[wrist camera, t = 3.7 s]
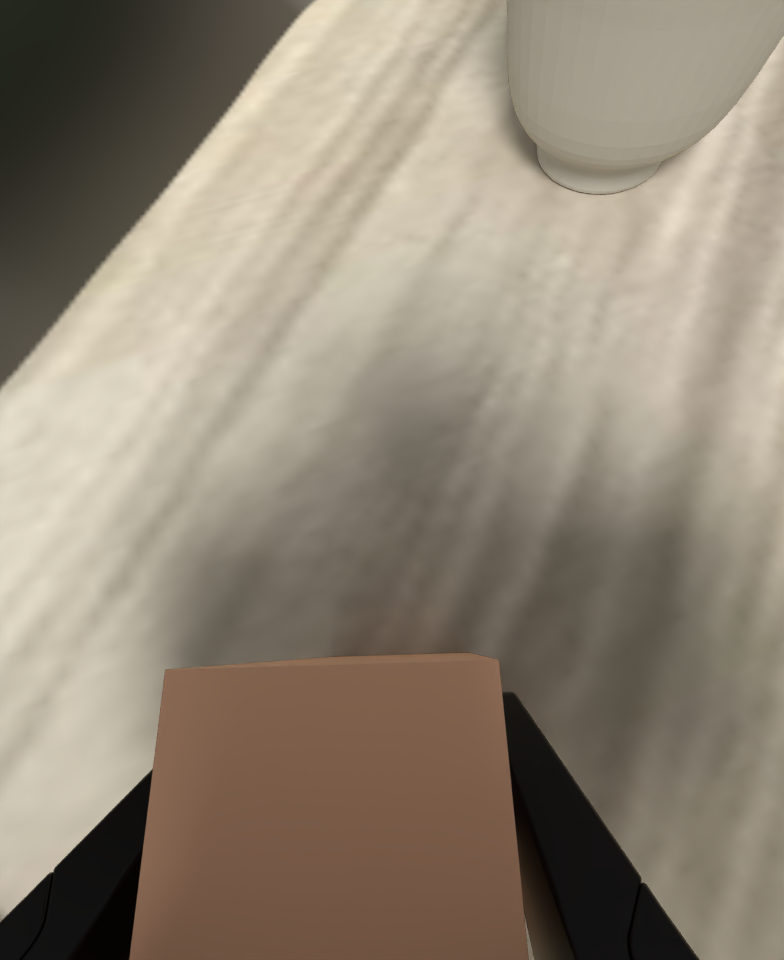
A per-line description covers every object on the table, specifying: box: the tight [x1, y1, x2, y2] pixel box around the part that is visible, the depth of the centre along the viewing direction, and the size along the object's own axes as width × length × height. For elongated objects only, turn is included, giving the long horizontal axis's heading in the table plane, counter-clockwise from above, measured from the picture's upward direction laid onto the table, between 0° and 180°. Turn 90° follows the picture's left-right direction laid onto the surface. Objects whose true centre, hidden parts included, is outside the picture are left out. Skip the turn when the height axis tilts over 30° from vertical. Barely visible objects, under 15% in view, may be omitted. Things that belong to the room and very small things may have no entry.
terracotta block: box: [129, 653, 529, 960], centre depth 10 cm, size 5×5×10 cm
